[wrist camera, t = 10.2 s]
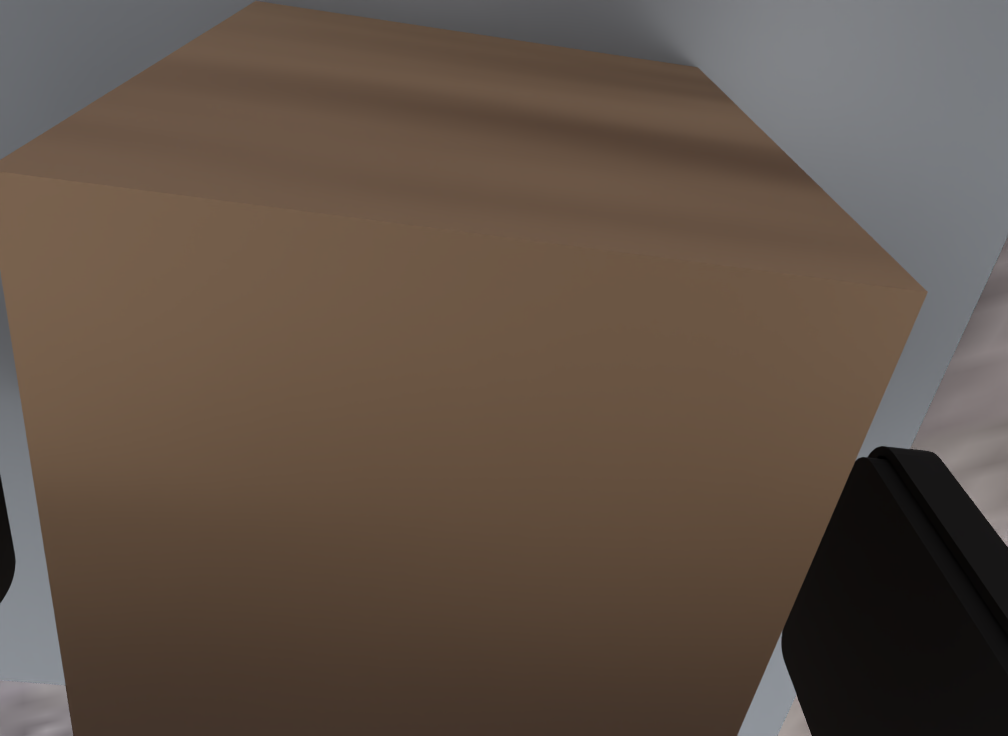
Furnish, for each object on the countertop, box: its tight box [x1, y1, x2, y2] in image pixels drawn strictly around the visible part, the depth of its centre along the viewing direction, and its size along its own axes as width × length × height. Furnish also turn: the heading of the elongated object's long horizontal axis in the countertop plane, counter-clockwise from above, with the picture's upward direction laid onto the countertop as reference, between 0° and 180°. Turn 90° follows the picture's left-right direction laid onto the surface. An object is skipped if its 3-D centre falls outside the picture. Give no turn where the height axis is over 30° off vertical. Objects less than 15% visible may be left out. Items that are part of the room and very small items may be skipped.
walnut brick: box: [0, 1, 928, 736], centre depth 9 cm, size 9×5×6 cm, turn 172°
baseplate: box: [0, 0, 1008, 736], centre depth 12 cm, size 14×14×1 cm
